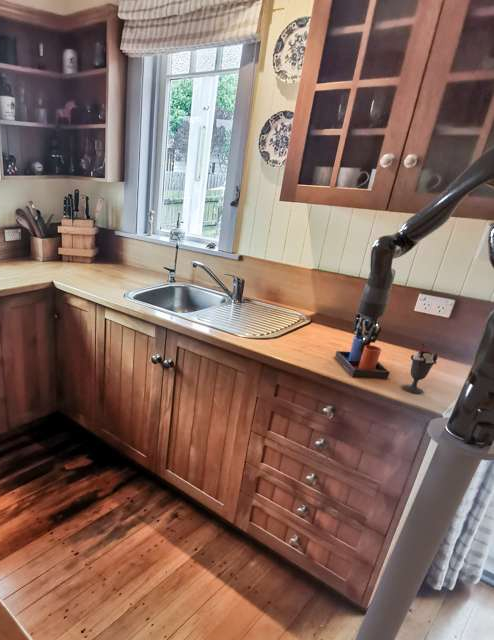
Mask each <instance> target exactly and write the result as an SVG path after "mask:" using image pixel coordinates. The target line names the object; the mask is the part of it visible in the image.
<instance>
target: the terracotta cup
mask: <svg viewBox="0 0 494 640" xmlns="http://www.w3.org/2000/svg"><path fill="white" fill-rule="evenodd" d="M381 352H382V348H381V347H379V346H376V345H372V344H370V345H365V346H364V350H363V353H362V356H361V359H360V363H359V366H358V369H362V370H375V368H376V365H377V362H379V359H380V356H381Z"/></svg>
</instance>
